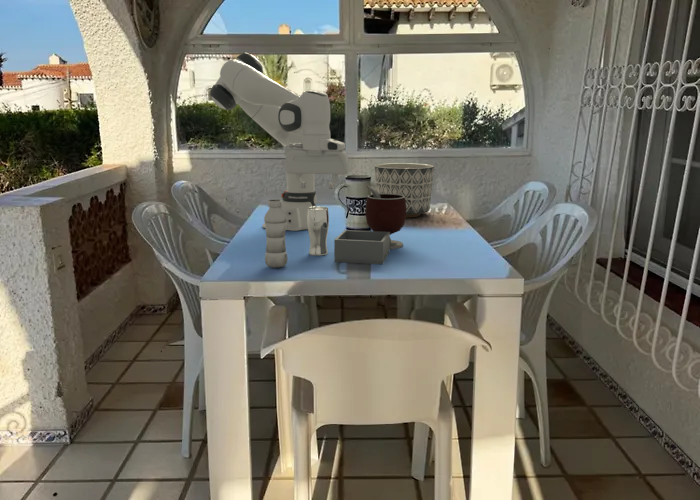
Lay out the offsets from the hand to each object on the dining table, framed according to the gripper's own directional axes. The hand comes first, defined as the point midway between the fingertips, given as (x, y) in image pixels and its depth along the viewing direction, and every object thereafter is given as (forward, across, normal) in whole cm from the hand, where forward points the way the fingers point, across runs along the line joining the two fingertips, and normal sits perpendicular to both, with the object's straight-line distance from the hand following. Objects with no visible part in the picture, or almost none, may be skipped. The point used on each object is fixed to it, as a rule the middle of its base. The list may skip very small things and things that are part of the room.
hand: (317, 188), depth 184 cm
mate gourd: (+22, +19, +17) cm, 34 cm away
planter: (+22, +19, +79) cm, 84 cm away
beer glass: (+22, 0, 0) cm, 22 cm away
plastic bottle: (+22, -8, -19) cm, 30 cm away
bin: (+21, +15, -2) cm, 26 cm away
